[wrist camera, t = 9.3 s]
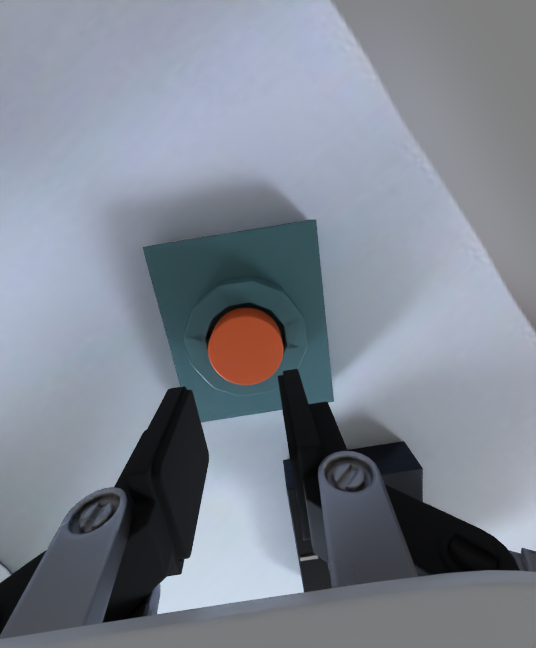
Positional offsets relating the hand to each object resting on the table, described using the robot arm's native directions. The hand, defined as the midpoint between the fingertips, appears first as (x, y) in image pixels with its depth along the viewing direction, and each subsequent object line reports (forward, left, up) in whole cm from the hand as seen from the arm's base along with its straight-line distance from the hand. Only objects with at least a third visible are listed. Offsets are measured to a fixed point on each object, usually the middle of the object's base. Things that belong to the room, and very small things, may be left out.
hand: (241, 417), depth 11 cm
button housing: (0, 0, -11) cm, 11 cm away
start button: (0, 0, -8) cm, 8 cm away
